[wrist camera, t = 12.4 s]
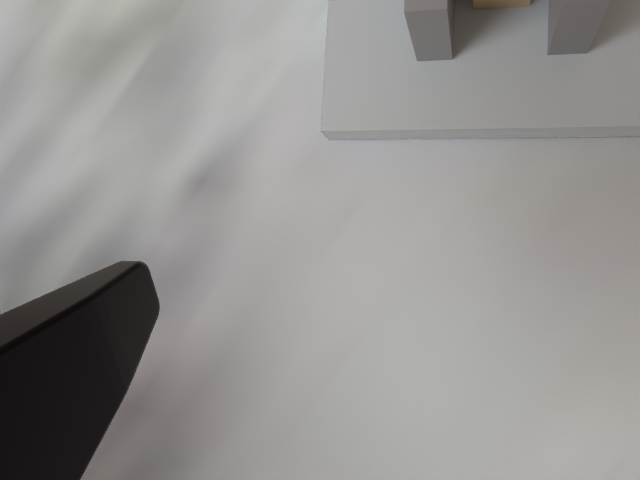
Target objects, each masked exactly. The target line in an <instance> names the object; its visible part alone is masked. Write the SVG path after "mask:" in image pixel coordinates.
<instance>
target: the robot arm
mask: <svg viewBox="0 0 640 480" xmlns="http://www.w3.org/2000/svg"><path fill="white" fill-rule="evenodd" d="M159 308H160V306H159V299H158V296H157V293H156V290H155V286H154V283H153V280H152V277H151V273H150V270H149V268H148V266H147V265H146V264H145V263H143V262H141V261H120V262H117V263H115V264H113V265H111V266H108V267H106V268H104V269H102V270H99V271H97V272H95V273H93V274H90V275H88V276H86V277H84V278H81V279H79V280H77V281H75V282H72V283H70V284H68V285H66V286H63V287H61V288H59V289H57V290H54V291H52V292H50V293H48V294H46V295H43V296H41V297H39V298H37V299H34V300H32V301H30V302H28V303H25V304H23V305H21V306H19V307H16V308H14V309H12V310H10V311H7V312H5V313H3V314H1V315H0V480H80V479H81V477H82V475H83V474H84V472H85V470H86V468H87V466H88V464H89V462H90V460H91V459H92V457H93V455H94V453H95V451H96V449H97V447H98V446H99V444H100V442H101V440H102V438H103V436H104V434H105V432H106V431H107V429H108V427H109V425H110V423H111V421H112V419H113V417H114V416H115V414H116V412H117V410H118V408H119V406H120V404H121V402H122V400H123V398H124V396H125V394H126V393H127V390H128V388H129V386H130V384H131V381H132V379H133V377H134V374H135V372H136V369H137V367H138V364H139V362H140V360H141V357H142V355H143V352H144V350H145V347H146V345H147V342H148V340H149V337H150V335H151V333H152V330H153V328H154V325H155V323H156V320H157V318H158V315H159Z"/></svg>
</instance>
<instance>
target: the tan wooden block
mask: <svg viewBox="0 0 640 480" xmlns="http://www.w3.org/2000/svg"><path fill="white" fill-rule="evenodd" d="M530 1H531V0H473V10H482V9H497V8H511V7H525V6H530Z"/></svg>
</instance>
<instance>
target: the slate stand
mask: <svg viewBox="0 0 640 480" xmlns="http://www.w3.org/2000/svg"><path fill="white" fill-rule="evenodd" d="M321 132H322V133H323V134H324V135H325V136H326V137H327V138H328V139H329V140H361V139H451V138H541V137H631V136H640V0H531V1H530V6H525V7H511V8H497V9H482V10H473V0H329V1H328V18H327V34H326V51H325V67H324V84H323V100H322V117H321Z"/></svg>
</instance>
